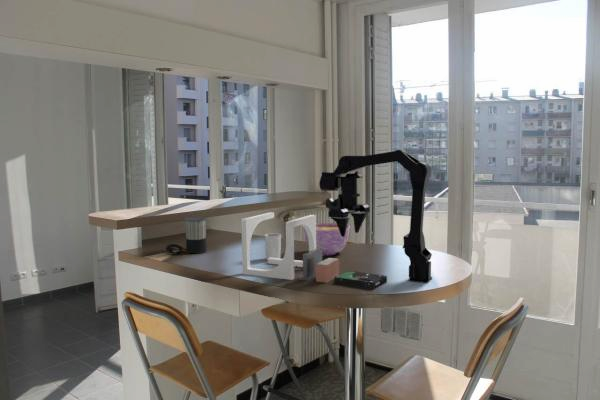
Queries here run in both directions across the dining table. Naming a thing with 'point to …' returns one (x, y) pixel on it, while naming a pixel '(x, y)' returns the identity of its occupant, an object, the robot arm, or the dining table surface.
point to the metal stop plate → (310, 264)
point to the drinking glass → (273, 245)
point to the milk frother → (192, 237)
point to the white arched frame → (287, 263)
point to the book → (327, 270)
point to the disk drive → (360, 279)
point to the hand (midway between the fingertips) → (349, 234)
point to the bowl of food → (329, 238)
